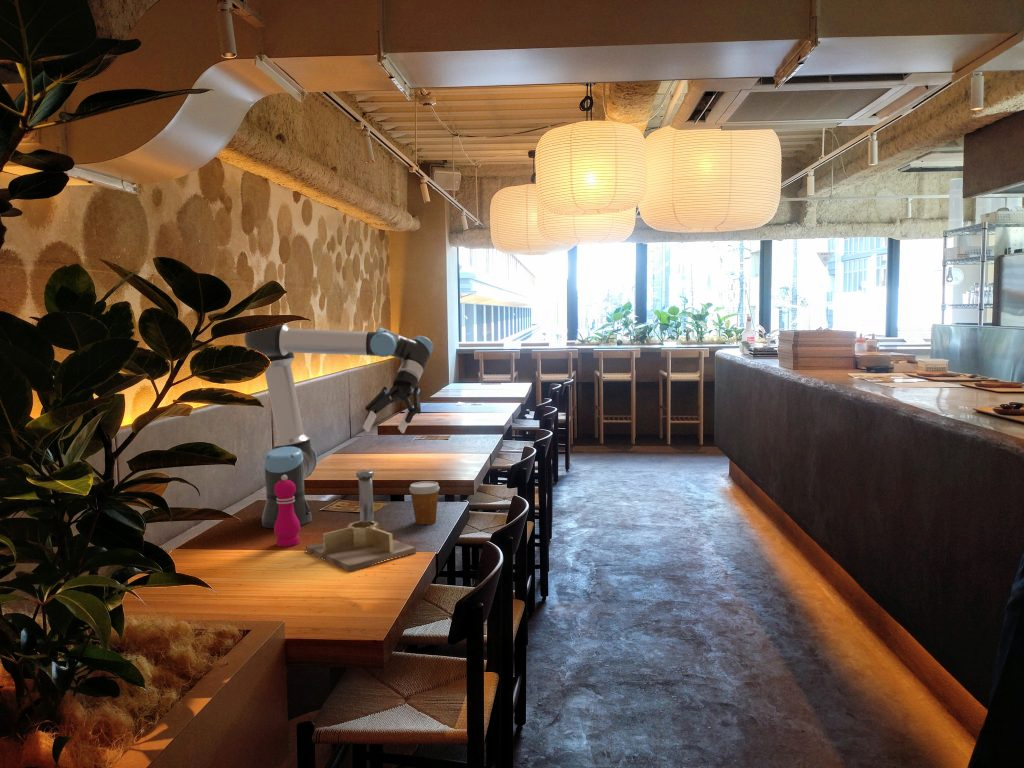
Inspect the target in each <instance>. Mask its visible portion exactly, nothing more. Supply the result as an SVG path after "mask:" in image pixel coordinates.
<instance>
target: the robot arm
mask: <svg viewBox="0 0 1024 768" xmlns="http://www.w3.org/2000/svg"><path fill="white" fill-rule="evenodd" d="M244 344H245V347H246V349H248V348H251V349H254V350H257V351H259V352H261V353H263V354H264V355H266V356H267V357H268V358H269V359H270V361H271V364H270V366H269V368H268V369H267V370H266V371H264V375H265V380H266V385H267V391H268V396H269V402H270V405H271V411H272V416H273V423H274V426H275V432H276V437H277V440H276V441H275V443H274V445H273V447H274V448H272V449H270V450H269V451H267V452H266V453H265V454H264V457H263V458H264V460H263V468H264V481H265V495H266V499H265V501H266V502H265V505H264V508H263V512H262V516H261V526H262V527H263V528H267V529H274V526H275V522H276V520H277V517H278V513H279V506H278V503H277V500H276V498H277V496H276V495H275V493H274V487H275V485H276V483H278V482H279V481H281V480H282V479H281V477H282V475H287V477H288V479H287V480H290V481H292V482H293V483H294V484H295V486H296V492H295V493H294V495H293V496H294V497H295V498H294V500H295V501H294V502H293V508H294V512H295V515H296V517H297V518H298V520H299V523H300V527H301V526H303V525H306V524H309V523H310V522H311V521H312V520H313V519H312V512H311V509H310V507H309V504H308V502H307V499H306V496H305V479H307V478H308V477H310V476H311V475H312V474H313V472H314V471H315V470H316V469H315V468H316V467H317V464H318V457H317V453H316V451H315V450H314V448H313V447H312V444H311V440H310V437H309V436H307V435H306V434H305V433H304V427H303V421H302V418H301V416H302V415H301V411H300V406H299V402H298V395H297V391H296V385H295V381H294V375H293V369H292V363H293V361H294V359H295V355H294V354H295V353H297V354H319V355H320V354H321V355H323V354H324V355H346V356H347V355H350V356H370V357H371V356H372V357H373V356H374V357H381V358H387V357H389V356H390V357H393V358H396V359H398V360H400V361H402V362H401V365H399V368H398V370H397V372H396V375H395V377H394V379H393V381H392V386H391V387H390V388H388V387H387V386H383V387H382V388H381V390H380V392H379V393H378V394H377V395H376V396H375V397H374V398H373V399H372V400H371V401H369V403H368V404H366V406H365V407H364V409H365V411H367V415H366V417H365V419H364V420H365V421H364V424H363V425H362V428H363V430H364V431H365V432H366V433H370V431H371V428H372V427H373V425H374V423H375V420H376V419H377V416H378V415H377V414H378V413H379V412H381V411H382V410H383V409H384V408H386V407H387V406H389V405H390V404H393V403H395V402H396V403H397V402H404V403H405V405H406V408H407V410H405V411H404V413H403V416H402V418H401V420H400V422H399V425H398V427H397V429H398V430H399V431H400V433H401V434H405V432H406V429H407V428H408V426H409V424H411V422H412V420H413V418H414V416H415V415H416V414H417V415H420V414H421V413H422V409H421V407H422V406H421V394H422V391H421V389H420V388H419V387H418V384H419V381H420V379H421V377H422V375H423V372H424V371H425V368H426V366H427V364H428V363H429V360H430V358H431V356H432V353H433V351H434V344H433V342H432V340H430V338H428V337H426V336H425V335H424V336H423V335H416V336H415V337H413V339H411V338H407V337H405V336H402V335H401V334H399V333H396V332H393V331H391V330H390V329H386V328H383V327H379V328H377V329H376V330H375V331H361V330H360V331H359V330H357V331H356V330H335V329H334V330H332V329H312V328H311V329H309V328H305V329H304V328H290V327H289V326H287V325H286V324H285V323H283V324H281V325H277V326H273V327H270V328H266V329H262V330H258V331H254V332H249V333H246V332H245V333H244ZM410 396H412V399H413V400H412V401H413V404H412V401H411V399H410Z"/></svg>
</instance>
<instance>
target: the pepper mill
mask: <svg viewBox="0 0 1024 768" xmlns="http://www.w3.org/2000/svg"><path fill="white" fill-rule="evenodd" d="M281 479H282V480H281V481H279V482H278V483H276V485H275V487H274V493H275V495H276V496H277V498H276V500H277V503H278V506H279V513H278V517H277V520H276V522H275V526H274V528H273V532H274V534H275V535H276V536H277V538H276V541H275V542H276V545H277V547H282V546H283V547H286V546H287V547H293V546H296V545H298V544H299V543H300V536H299V535H298V534H299V532H300V531H301V526H300V523H299V520H298V518H297V517H296V515H295V512H294V508H293V502H294V501H295V500H294V498H295V497H294V496H293V495H294V493H295V492H296V486H295V484H294V483H293V482H292V481H290V480H287V479H288V477H287V475H282V477H281ZM292 545H293V546H292ZM287 547H286V548H287Z"/></svg>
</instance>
